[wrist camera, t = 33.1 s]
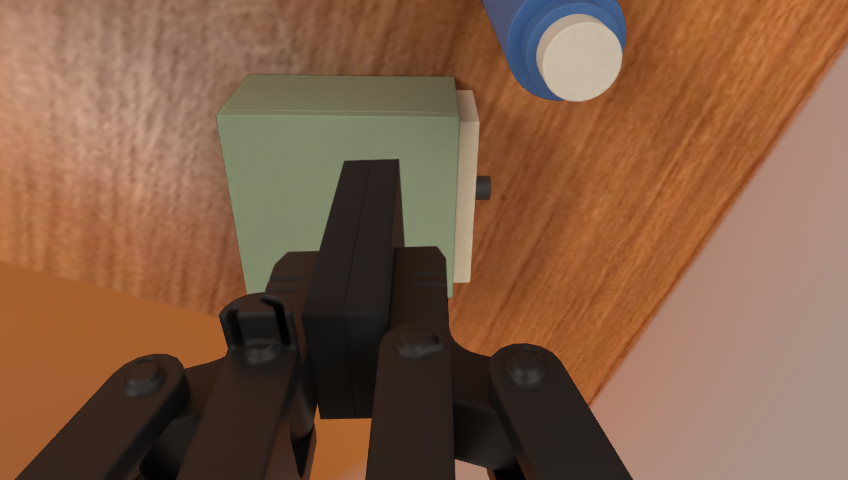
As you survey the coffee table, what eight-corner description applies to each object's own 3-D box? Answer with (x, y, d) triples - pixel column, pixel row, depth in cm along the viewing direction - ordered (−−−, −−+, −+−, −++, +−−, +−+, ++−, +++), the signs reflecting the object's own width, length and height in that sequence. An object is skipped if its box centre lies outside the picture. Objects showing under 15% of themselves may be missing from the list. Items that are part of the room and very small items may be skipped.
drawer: (491, 89, 40) (500, 122, 35) (480, 238, 46) (487, 283, 41) (281, 87, 40) (261, 119, 35) (298, 236, 46) (283, 282, 41)
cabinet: (454, 76, 40) (460, 117, 34) (448, 238, 47) (452, 298, 41) (248, 74, 40) (214, 114, 34) (271, 237, 47) (247, 297, 40)
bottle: (536, -79, 36) (614, -37, 21) (575, -3, 38) (670, 80, 23) (464, -26, 37) (490, 45, 23) (505, 43, 39) (554, 149, 25)
